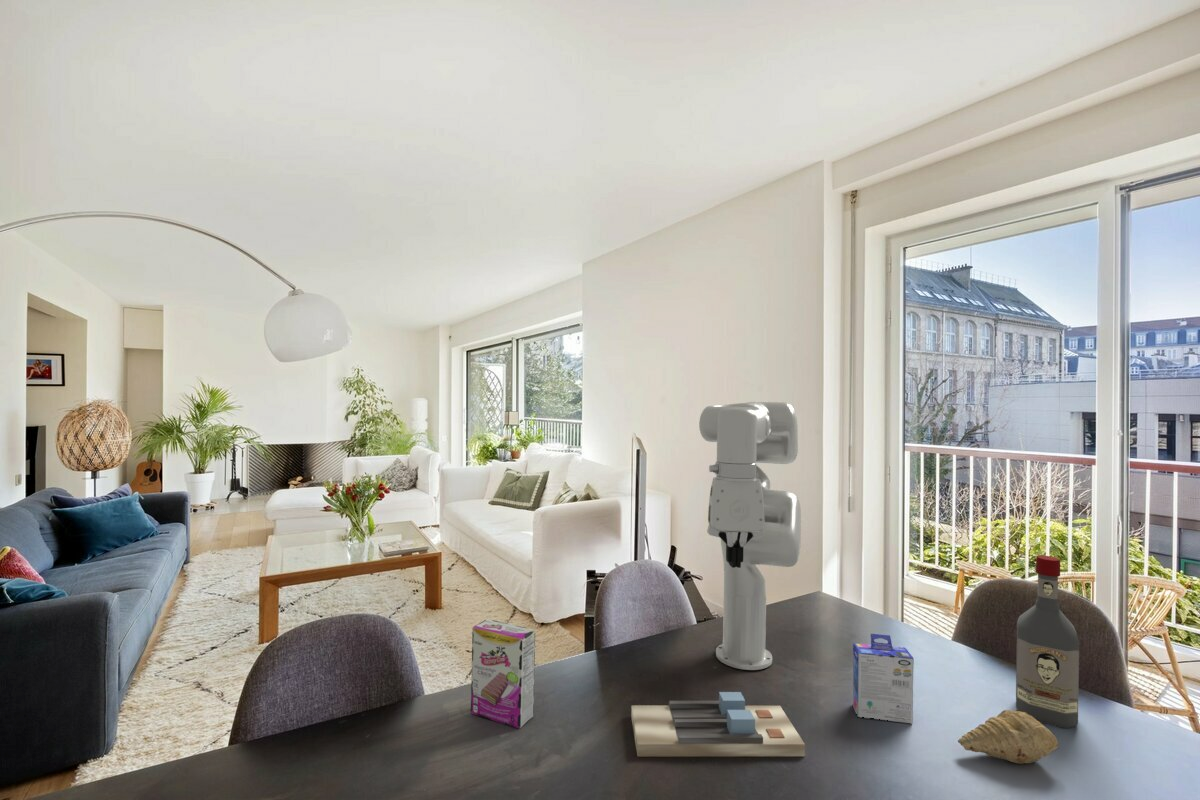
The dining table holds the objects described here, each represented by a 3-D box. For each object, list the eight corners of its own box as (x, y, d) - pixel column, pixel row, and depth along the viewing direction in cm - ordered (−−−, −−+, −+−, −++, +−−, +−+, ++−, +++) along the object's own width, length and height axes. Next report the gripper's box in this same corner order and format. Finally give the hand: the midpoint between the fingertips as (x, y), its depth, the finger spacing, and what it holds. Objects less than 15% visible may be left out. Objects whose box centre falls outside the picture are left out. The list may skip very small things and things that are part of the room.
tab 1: (718, 708, 105) (719, 692, 105) (740, 708, 105) (740, 692, 105) (722, 717, 102) (723, 700, 102) (744, 717, 102) (745, 700, 102)
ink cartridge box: (905, 709, 110) (906, 634, 110) (915, 725, 105) (916, 646, 105) (850, 703, 112) (852, 629, 112) (857, 718, 107) (858, 641, 107)
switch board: (631, 716, 106) (631, 700, 106) (779, 716, 107) (780, 700, 107) (637, 756, 94) (637, 738, 94) (804, 756, 95) (805, 738, 95)
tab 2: (726, 727, 99) (727, 709, 99) (749, 727, 99) (749, 709, 99) (731, 737, 96) (731, 719, 96) (754, 737, 96) (755, 719, 96)
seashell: (980, 776, 90) (981, 726, 90) (946, 745, 98) (947, 699, 98) (1063, 775, 91) (1063, 725, 91) (1023, 745, 99) (1023, 699, 99)
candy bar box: (469, 715, 105) (470, 626, 105) (485, 702, 110) (486, 617, 110) (520, 731, 100) (521, 638, 100) (535, 716, 105) (536, 628, 105)
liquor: (1015, 696, 116) (1018, 549, 116) (1073, 711, 110) (1076, 557, 110) (1016, 716, 108) (1019, 558, 108) (1078, 733, 103) (1081, 567, 103)
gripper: (702, 473, 106) (700, 571, 106) (780, 474, 107) (779, 571, 107) (694, 468, 114) (692, 560, 114) (767, 469, 114) (766, 560, 114)
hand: (734, 565), depth 110 cm, fingers closed
